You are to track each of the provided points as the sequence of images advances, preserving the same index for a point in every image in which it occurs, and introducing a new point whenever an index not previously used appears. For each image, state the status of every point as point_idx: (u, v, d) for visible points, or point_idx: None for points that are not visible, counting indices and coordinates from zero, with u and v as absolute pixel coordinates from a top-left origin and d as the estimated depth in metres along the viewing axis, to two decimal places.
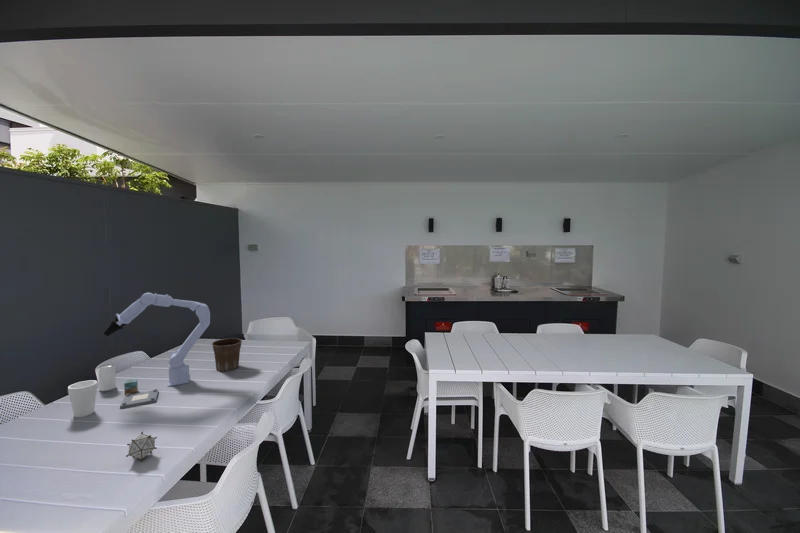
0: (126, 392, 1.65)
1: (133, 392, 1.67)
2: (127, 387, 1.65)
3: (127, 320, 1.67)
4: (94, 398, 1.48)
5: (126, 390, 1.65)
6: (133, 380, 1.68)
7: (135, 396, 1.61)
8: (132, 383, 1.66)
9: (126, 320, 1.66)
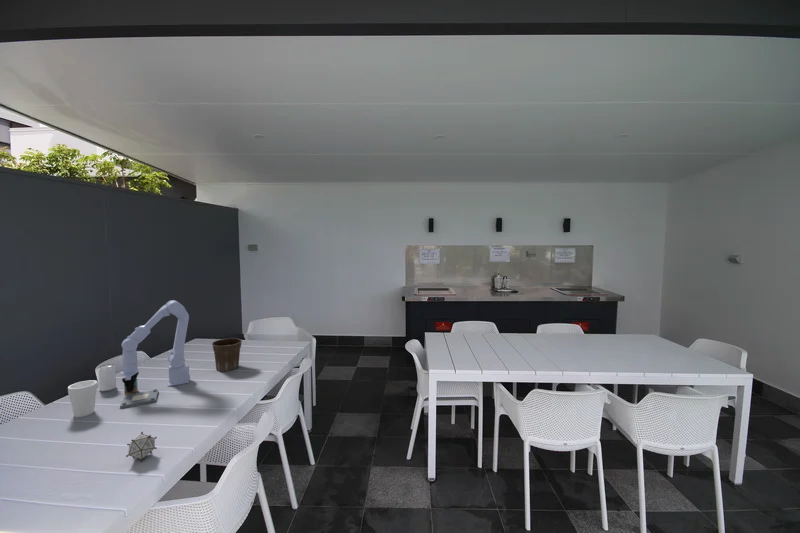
0: (126, 392, 1.65)
1: (133, 392, 1.67)
2: None
3: (133, 370, 1.66)
4: (94, 398, 1.48)
5: (126, 390, 1.65)
6: None
7: (135, 396, 1.61)
8: None
9: (132, 371, 1.66)
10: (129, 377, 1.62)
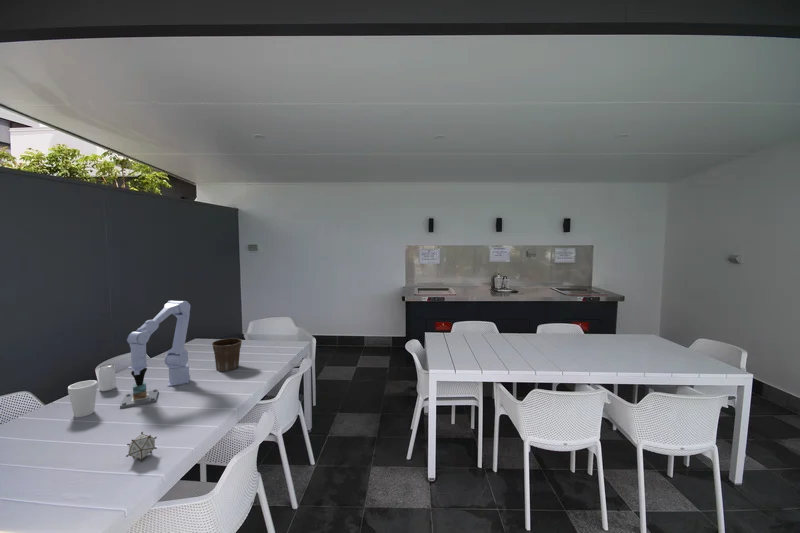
0: (135, 396, 1.57)
1: (142, 396, 1.59)
2: (136, 391, 1.58)
3: (142, 365, 1.58)
4: (94, 398, 1.48)
5: (135, 394, 1.57)
6: (142, 384, 1.61)
7: None
8: (141, 387, 1.58)
9: (141, 366, 1.58)
10: (138, 372, 1.54)
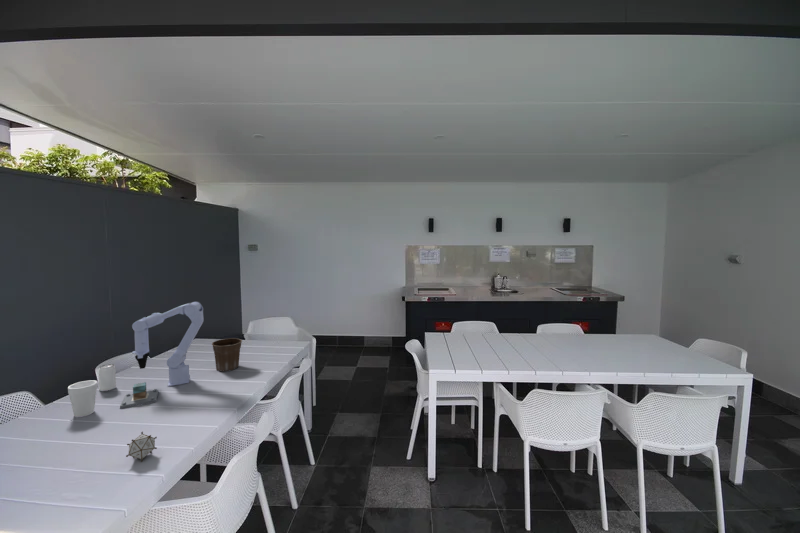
0: (135, 396, 1.57)
1: (142, 396, 1.59)
2: (136, 391, 1.58)
3: (145, 350, 1.74)
4: (94, 398, 1.48)
5: (135, 394, 1.57)
6: (142, 384, 1.61)
7: None
8: (141, 387, 1.59)
9: (144, 350, 1.74)
10: (141, 355, 1.70)
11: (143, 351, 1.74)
